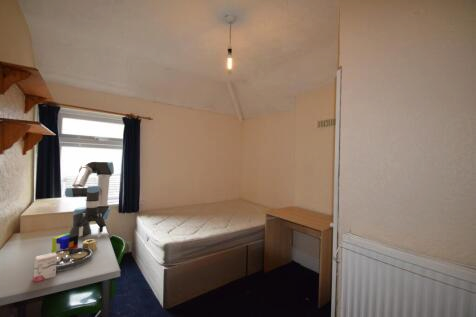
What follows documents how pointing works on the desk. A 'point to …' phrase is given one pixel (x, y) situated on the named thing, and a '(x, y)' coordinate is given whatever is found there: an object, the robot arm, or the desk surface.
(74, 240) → the puzzle toy
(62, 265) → the carrier
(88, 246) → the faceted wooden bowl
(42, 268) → the ink box
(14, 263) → the desk surface
